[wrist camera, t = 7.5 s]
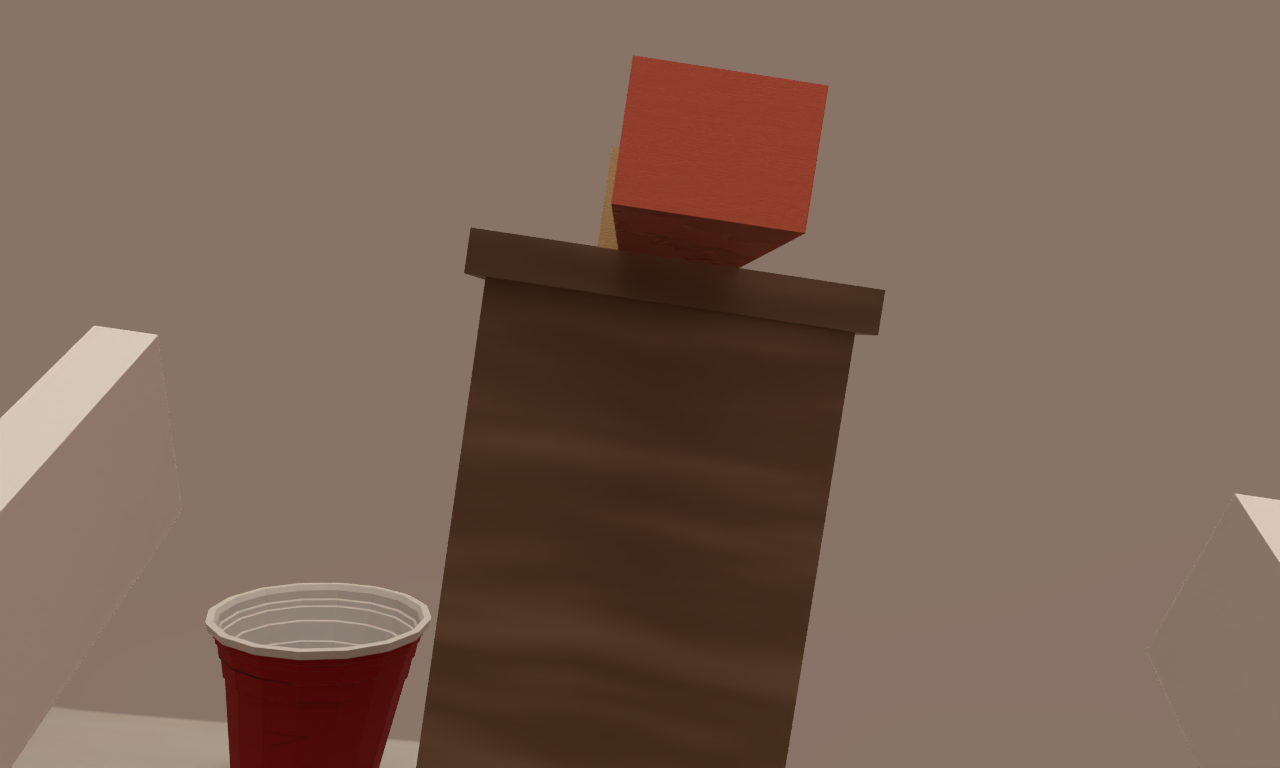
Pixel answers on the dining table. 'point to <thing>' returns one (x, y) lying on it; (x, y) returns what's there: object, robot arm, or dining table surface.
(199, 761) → the dining table surface
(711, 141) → the lever
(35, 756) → the dining table surface
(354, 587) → the plastic cup
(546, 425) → the stand
